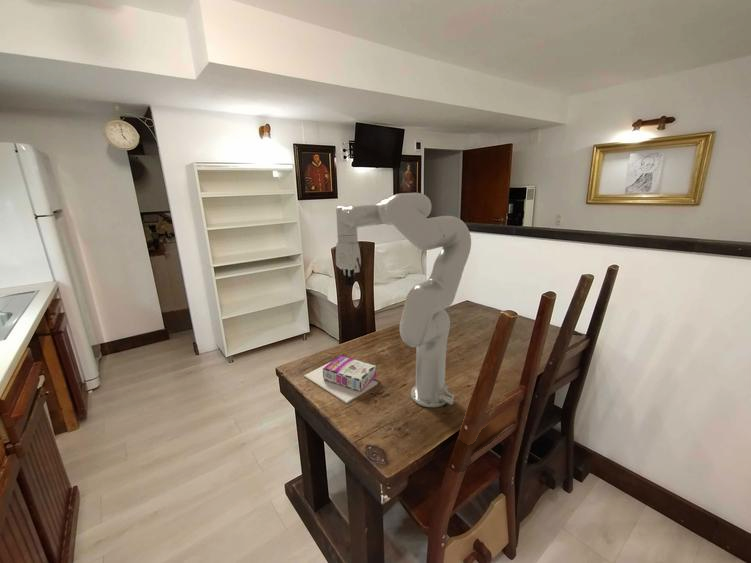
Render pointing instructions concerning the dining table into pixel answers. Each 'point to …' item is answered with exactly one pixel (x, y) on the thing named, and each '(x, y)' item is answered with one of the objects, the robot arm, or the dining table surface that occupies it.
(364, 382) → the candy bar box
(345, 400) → the mat
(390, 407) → the dining table surface
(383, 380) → the dining table surface
